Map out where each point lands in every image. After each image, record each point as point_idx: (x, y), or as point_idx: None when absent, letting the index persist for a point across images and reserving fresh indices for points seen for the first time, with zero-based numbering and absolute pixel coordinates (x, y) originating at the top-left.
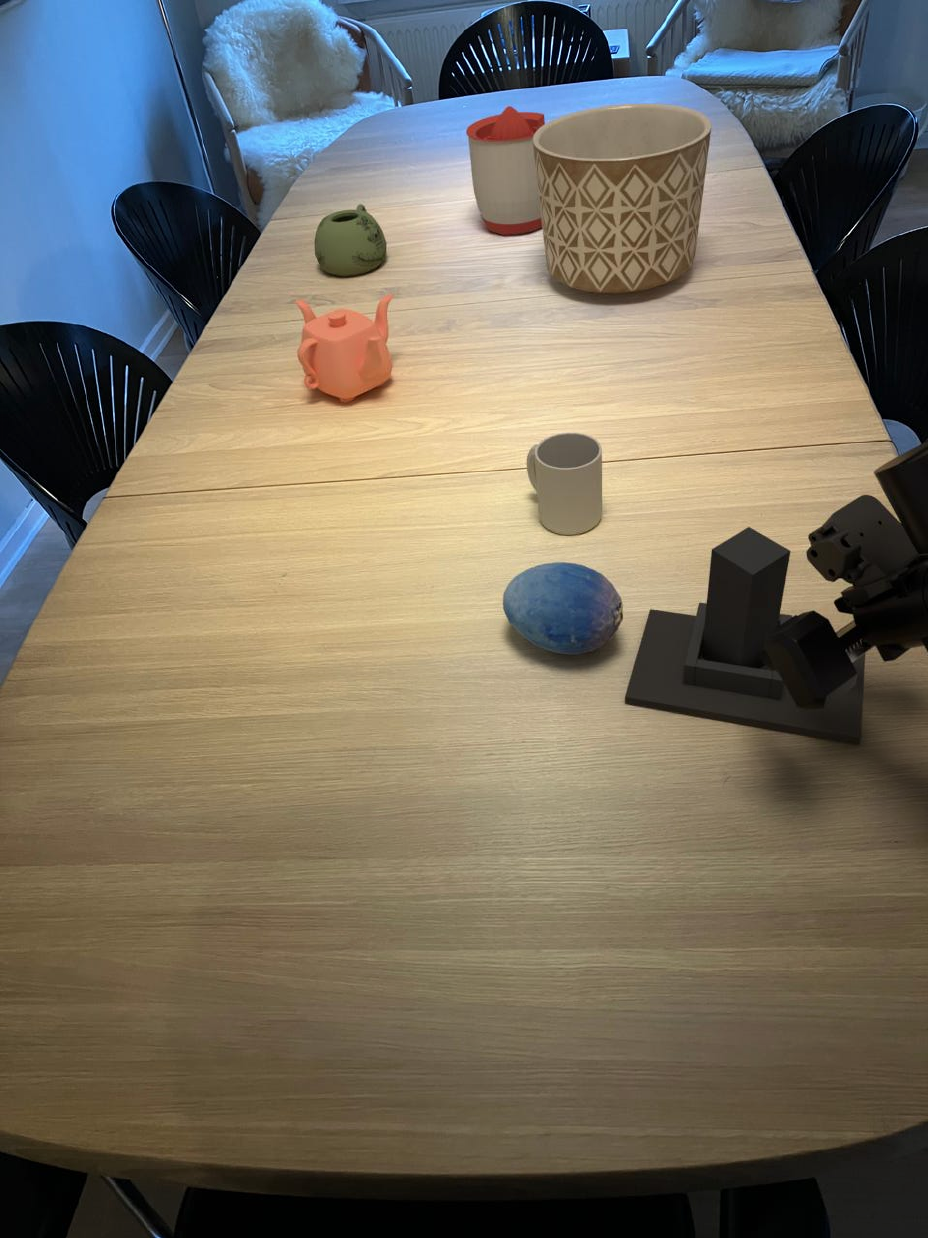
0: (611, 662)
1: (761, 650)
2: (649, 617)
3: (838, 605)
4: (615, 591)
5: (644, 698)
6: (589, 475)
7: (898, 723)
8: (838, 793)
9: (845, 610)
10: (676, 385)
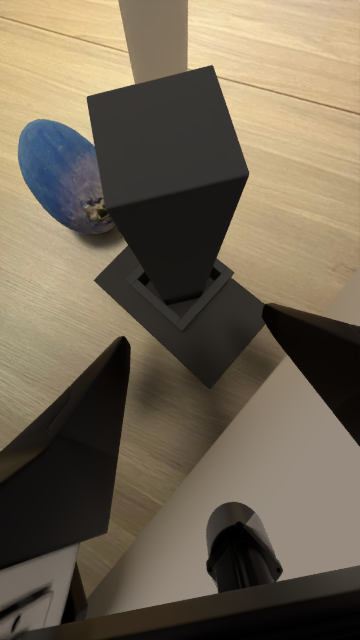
0: (111, 248)
1: (117, 340)
2: None
3: (266, 313)
4: (97, 182)
5: (103, 287)
6: (159, 27)
7: (245, 383)
8: (171, 412)
9: (268, 324)
10: (317, 19)
